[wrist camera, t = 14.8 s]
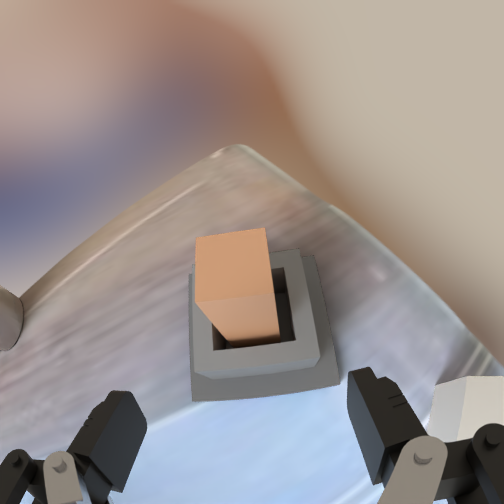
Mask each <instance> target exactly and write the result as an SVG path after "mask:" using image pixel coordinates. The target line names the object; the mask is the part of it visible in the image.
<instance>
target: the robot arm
mask: <svg viewBox="0 0 504 504" xmlns="http://www.w3.org/2000/svg"><path fill="white" fill-rule="evenodd" d="M22 323H23V306H22V303H21V301H20V299H19V298H18V297H16V296H15V295H14V294H12V293H11V292H9V291H8V290H6V289H5V288H3V287H2V286H1V285H0V350H3V351H6V350H9V349H10V348H11V347H12V346H13V345H14V344H15V342H16V341H17V339H18V337H19V334H20V331H21V328H22ZM347 409H348V414H349V417H350V420H351V423H352V426H353V429H354V431H355V434H356V437H357V440H358V443H359V446H360V448H361V451H362V454H363V457H364V460H365V463H366V466H367V469H368V472H369V475H370V478H371V481H372V484H373V485H375V484H379V483H383V485H384V488H385V489H384V491H383V493H382V495H381V497H380V499H379V501H378V503H377V504H433V501H436V500H441V499H447V501H448V504H504V426H503V425H501V424H498V423H489V424H486V425H484V426H482V427H480V428H479V429H478V430H477V431H476V433H475V434H474V436H473V438H469V439H464V440H460V441H454V442H443V441H442V440H440V439H439V438H436V437H434V436H429V435H428V434H427V432H426V431H425V429H424V428H423V426H422V424H421V423H420V421H419V419H418V418H417V416H416V414H415V413H414V411H413V409H412V408H411V406H410V405H409V403H408V402H407V400H406V398H405V397H404V395H403V393H402V392H401V390H400V389H399V387H398V385H397V384H396V383H395V382H393V381H392V380H390V379H389V378H387V377H386V376H385V377H382V378H378V379H377V378H376V376H375V374H374V373H373V371H372V369H371V368H370V367H366V368H362V369H358V370H353V371H349V372H348V388H347ZM83 425H84V426H82V427H81V429H80V430H79V432H78V434H77V435H76V437H75V438H74V440H73V442H72V443H71V445H70V446H69V448H68V450H67V451H66V452H65V451H58V452H54V453H52V454H51V455H49V456H48V457H47V458H46V460H33V459H32V458H31V457H30V456H29V455H28V454H27V452H26V451H24V450H22V449H16V450H13V451H11V452H10V453H9V454H8V455H7V456H6V457H5V459H4V460H3V462H2V463H1V465H0V504H20V502H21V500H22V498H23V496H24V494H25V492H26V490H27V491H28V492H29V493H30V494H31V495H33V496H34V497H35V498H34V501H33V503H32V504H114V503H113V500H112V498H111V497H110V496H109V493H110V491H111V490H112V491H116V492H121V493H122V492H123V489H124V487H125V484H126V482H127V479H128V477H129V474H130V471H131V469H132V466H133V464H134V461H135V459H136V456H137V454H138V451H139V449H140V446H141V444H142V441H143V439H144V437H145V434H146V431H147V422H146V419H145V417H144V415H143V413H142V411H141V409H140V407H139V405H138V403H137V402H136V400H135V398H134V396H133V394H132V393H131V392H129V391H115V390H113V391H111V392H110V393H109V394H108V396H107V398H106V399H105V401H104V402H103V401H102V402H101V403H100V404H99V405H98V406H96V407H95V408H94V409H93V410H92V412H91V413H90V415H89V416H88V419H86V421H85V423H84V424H83Z"/></svg>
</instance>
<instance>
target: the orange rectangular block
mask: <svg viewBox="0 0 504 504" xmlns="http://www.w3.org/2000/svg"><path fill="white" fill-rule="evenodd" d="M195 303H196V304H197V306H198V307H199V308H200V309H201V310H202V312H203V313H204V314H205V315H206V316H207V317H208V319H209V320H210V321H211V322H212V323H213V325H214V326H215V327H216V328H217V329H218V330H219V332H220V333H221V334H222V335H223V336H224V337H225V338H226V340H227V341H228V342H229V343H230V344H231V345H232V346H233V347H234V349H236V348H245V347H253V346H261V345H269V344H276V343H281V340H280V332H279V324H278V316H277V308H276V301H275V294H274V286H273V279H272V272H271V265H270V258H269V252H268V245H267V238H266V231H265V228H258V229H251V230H244V231H237V232H230V233H224V234H217V235H211V236H204V237H198V238H196V254H195Z"/></svg>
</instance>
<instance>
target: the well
mask: <svg viewBox="0 0 504 504" xmlns="http://www.w3.org/2000/svg"><path fill="white" fill-rule="evenodd" d="M269 258H270V265H271V272H272V279H273V286H274V294H275V301H276V308H277V316H278V324H279V332H280V340H281V343H276V344H269V345H261V346H253V347H245V348H236V349H234V347H233V346H232V345H231V344H230V343H229V342H228V341H227V340H226V338H225V337H224V336H223V335H222V334H221V333H220V332H219V330H218V329H217V328H216V327H215V326H214V325H213V323H212V322H211V321H210V320H209V319H208V317H207V316H206V315H205V314H204V313H203V312H202V310H201V309H200V308H199V307H198V306H197V304H196V303H195V264H193V265H192V274H189V346H190V372H191V391H192V401H194V402H204V401H225V400H239V399H250V398H260V397H269V396H277V395H284V394H291V393H298V392H304V391H310V390H315V389H321V388H326V387H331V386H336V385H339V384H340V378H339V372H338V367H337V361H336V355H335V350H334V345H333V340H332V334H331V329H330V325H329V320H328V315H327V310H326V305H325V301H324V296H323V292H322V287H321V283H320V279H319V274H318V270H317V266H316V262H315V257H314V255H313V256H306V257H301V255H300V250H299V249H292V250H285V251H279V252H272V253H269Z"/></svg>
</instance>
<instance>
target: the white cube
mask: <svg viewBox="0 0 504 504" xmlns="http://www.w3.org/2000/svg"><path fill="white" fill-rule="evenodd" d="M489 423H498V424H501V425H503V426H504V376H465V377H462V378H459V379H455V380H452V381H449V382H445V383H441V384H438V385H435V389H434V395H433V401H432V407H431V413H430V418H429V423H428V427H427V434H428V435H429V436H434V437H436V438H439V439H440V440H442V441H443V442H454V441H460V440H464V439H469V438H473V436H474V434H475V433H476V431H477V430H478V429H479V428H480V427H482V426H484V425H486V424H489Z"/></svg>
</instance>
